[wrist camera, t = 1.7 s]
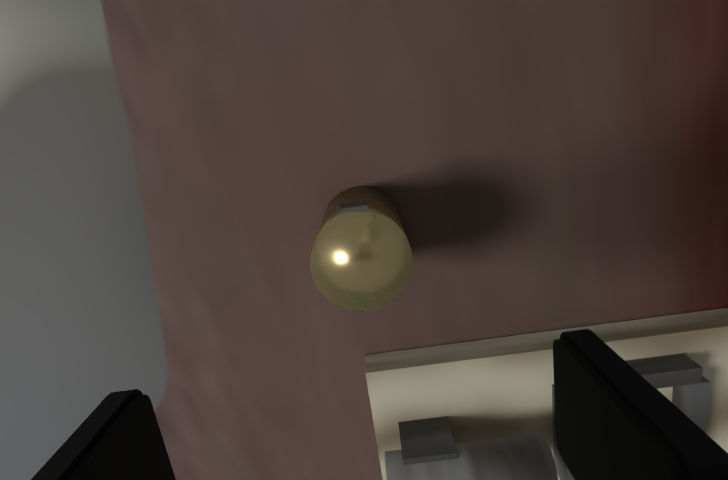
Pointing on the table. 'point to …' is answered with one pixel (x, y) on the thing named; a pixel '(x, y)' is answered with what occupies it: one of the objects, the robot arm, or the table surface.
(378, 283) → the yellow round-topped cylinder
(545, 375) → the stand
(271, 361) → the table surface
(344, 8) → the table surface
